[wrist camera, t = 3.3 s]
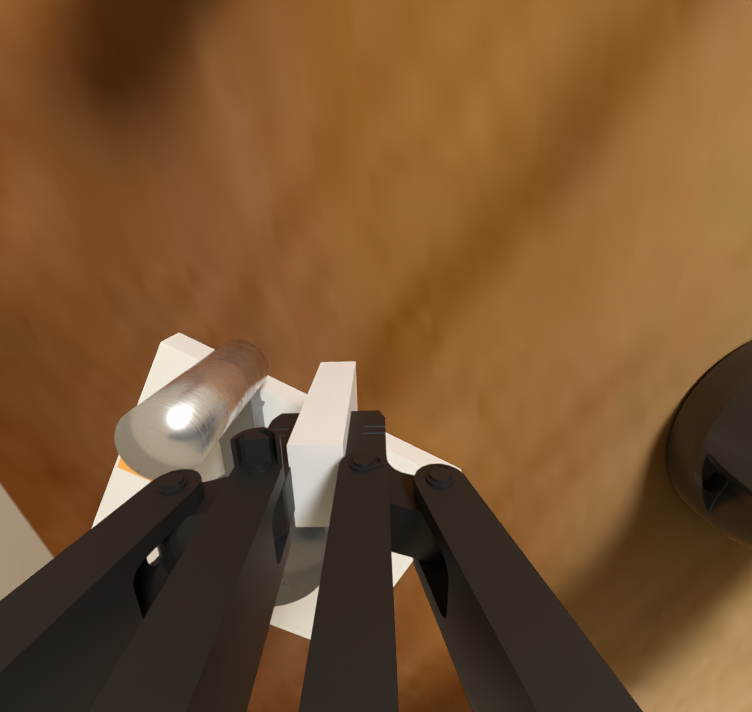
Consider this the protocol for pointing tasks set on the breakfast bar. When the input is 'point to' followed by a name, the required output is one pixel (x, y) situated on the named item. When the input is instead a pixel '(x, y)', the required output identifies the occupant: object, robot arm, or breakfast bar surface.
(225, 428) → the grey crank handle
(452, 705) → the breakfast bar surface
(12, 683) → the robot arm
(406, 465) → the stand plate
